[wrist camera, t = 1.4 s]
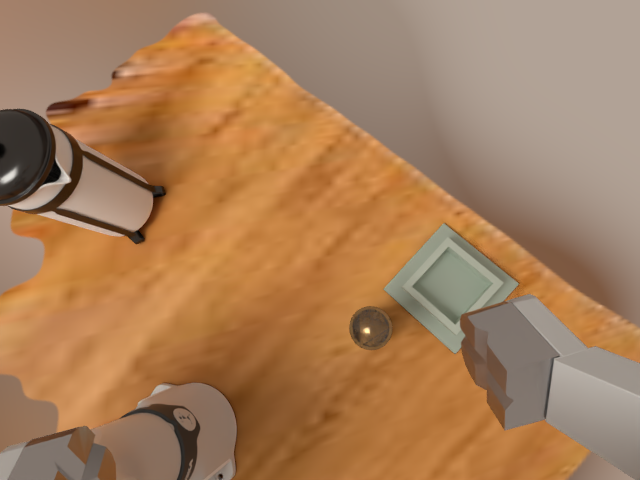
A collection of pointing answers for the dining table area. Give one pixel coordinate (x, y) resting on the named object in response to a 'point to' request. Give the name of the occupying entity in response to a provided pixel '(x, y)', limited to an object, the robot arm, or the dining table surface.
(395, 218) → the dining table surface
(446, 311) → the green square tray
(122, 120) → the dining table surface
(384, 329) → the pin
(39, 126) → the coffee press
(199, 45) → the dining table surface
